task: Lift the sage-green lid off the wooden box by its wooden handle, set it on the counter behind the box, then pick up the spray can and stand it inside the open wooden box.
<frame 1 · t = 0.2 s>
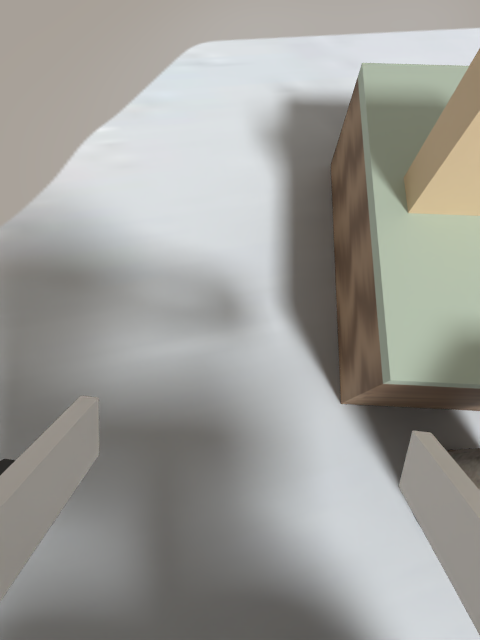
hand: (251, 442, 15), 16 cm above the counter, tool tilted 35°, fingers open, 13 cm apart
spray can: (459, 499, 29), on the counter
wooden box: (398, 272, 36), on the counter
lid: (454, 208, 26), point 10 cm above the counter, touching wooden box
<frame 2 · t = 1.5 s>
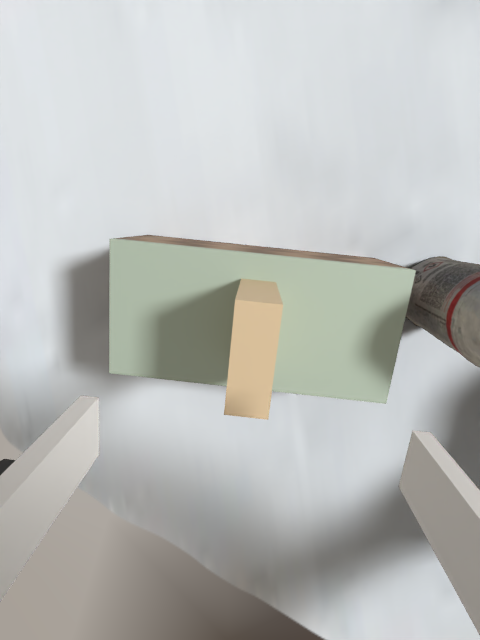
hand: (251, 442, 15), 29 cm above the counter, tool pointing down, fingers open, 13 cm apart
spray can: (428, 291, 42), on the counter
wooden box: (254, 299, 43), on the counter
lid: (253, 321, 33), point 10 cm above the counter, touching wooden box
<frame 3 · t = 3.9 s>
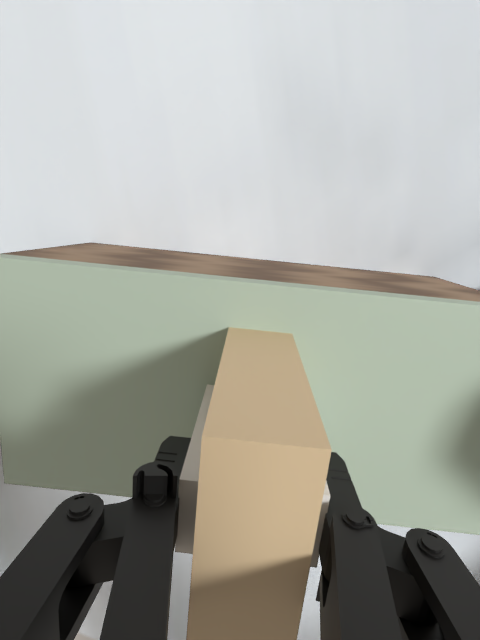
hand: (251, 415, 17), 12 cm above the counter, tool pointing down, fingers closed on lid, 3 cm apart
wooden box: (252, 337, 29), on the counter
lid: (251, 395, 19), point 10 cm above the counter, touching gripper
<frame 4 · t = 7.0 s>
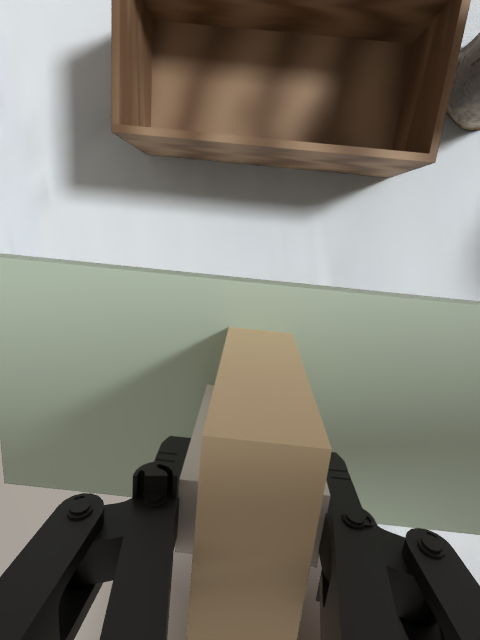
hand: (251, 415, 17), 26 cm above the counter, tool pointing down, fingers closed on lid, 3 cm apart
spray can: (477, 86, 36), on the counter
wooden box: (274, 101, 37), on the counter
lid: (252, 395, 19), point 24 cm above the counter, touching gripper
when the fingers open (4 cm above the counter, at t = 10.5 s): lid drops 2 cm, on the counter.
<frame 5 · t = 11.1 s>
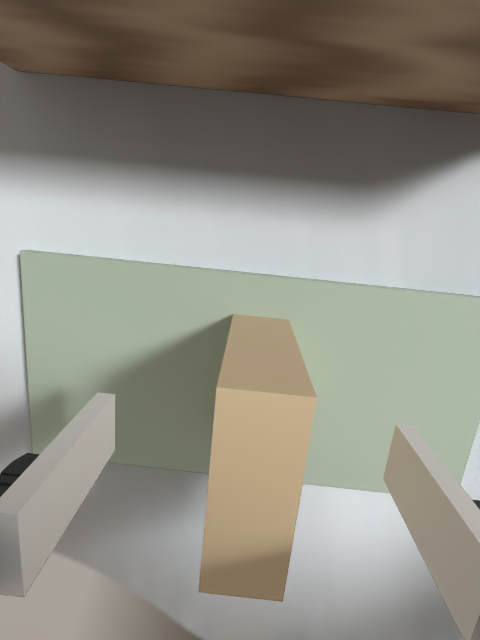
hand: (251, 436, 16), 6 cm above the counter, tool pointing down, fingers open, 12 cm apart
lid: (253, 376, 22), on the counter
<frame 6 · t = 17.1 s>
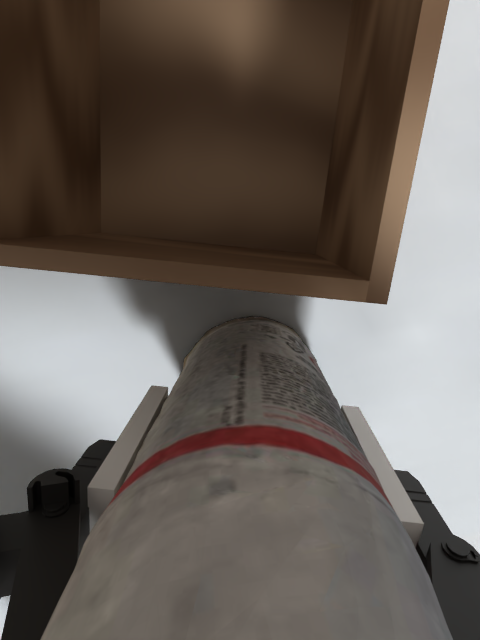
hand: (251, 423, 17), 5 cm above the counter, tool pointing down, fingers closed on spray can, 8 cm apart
spray can: (250, 374, 22), on the counter, touching gripper
when the fingers open (8 cm above the counter, at t = 24.8 s): spray can drops 1 cm, resting on wooden box.
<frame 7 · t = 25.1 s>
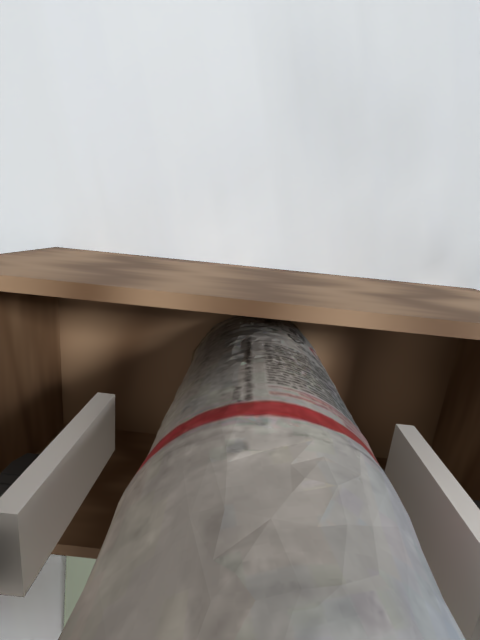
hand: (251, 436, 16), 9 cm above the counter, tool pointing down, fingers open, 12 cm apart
spray can: (254, 366, 23), point 1 cm above the counter, touching wooden box
wooden box: (252, 360, 24), on the counter
lid: (227, 593, 30), on the counter
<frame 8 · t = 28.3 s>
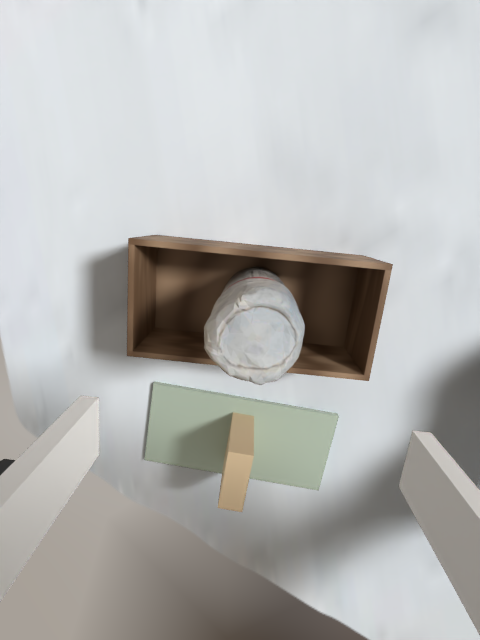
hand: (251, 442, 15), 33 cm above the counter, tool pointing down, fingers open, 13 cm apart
spray can: (254, 295, 46), point 1 cm above the counter, touching wooden box
wooden box: (253, 293, 47), on the counter
lid: (239, 434, 53), on the counter
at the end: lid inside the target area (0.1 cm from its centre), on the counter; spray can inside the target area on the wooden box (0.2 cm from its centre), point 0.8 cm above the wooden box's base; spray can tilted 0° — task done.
